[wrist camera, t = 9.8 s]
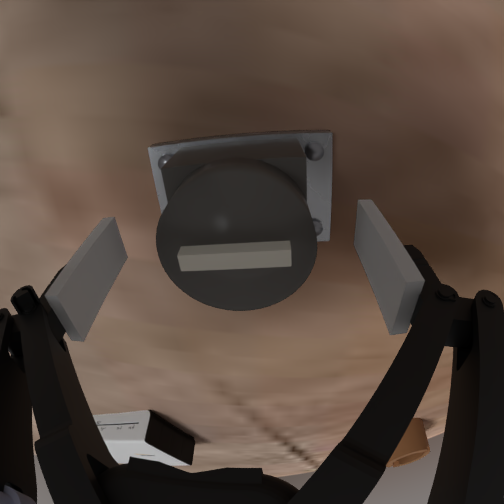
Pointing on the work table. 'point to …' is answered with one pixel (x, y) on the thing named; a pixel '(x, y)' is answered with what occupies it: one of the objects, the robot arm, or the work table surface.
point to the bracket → (411, 445)
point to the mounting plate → (311, 141)
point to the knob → (237, 222)
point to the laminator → (144, 438)
